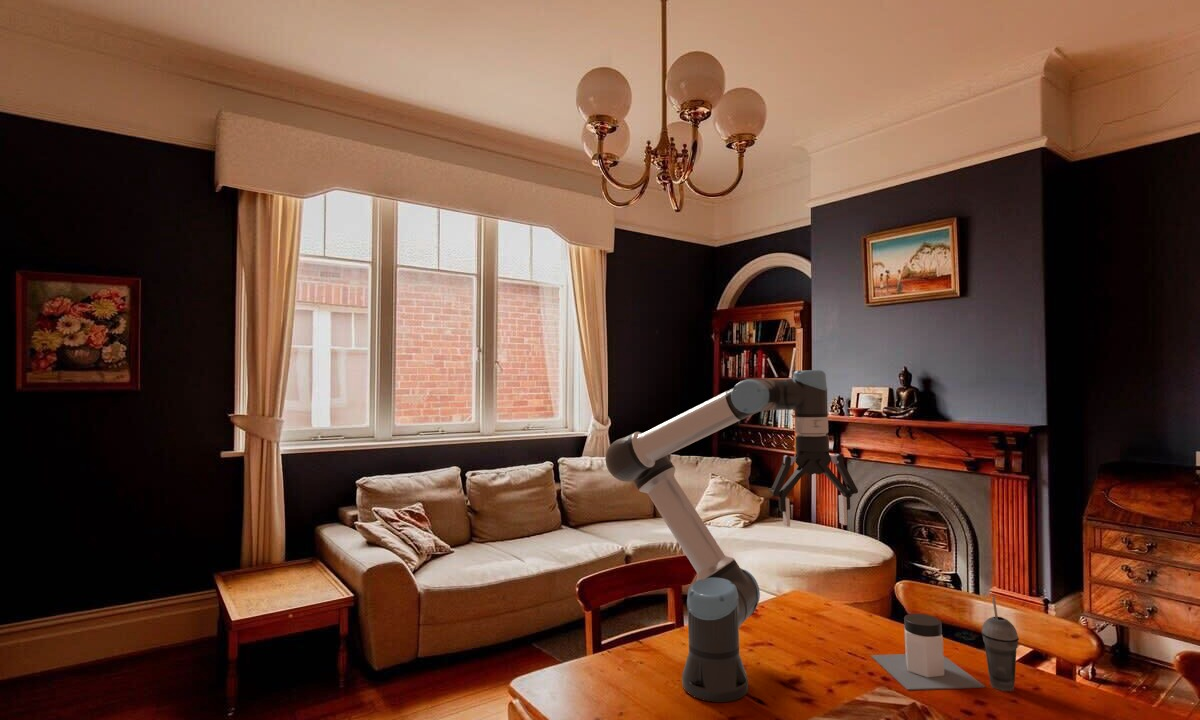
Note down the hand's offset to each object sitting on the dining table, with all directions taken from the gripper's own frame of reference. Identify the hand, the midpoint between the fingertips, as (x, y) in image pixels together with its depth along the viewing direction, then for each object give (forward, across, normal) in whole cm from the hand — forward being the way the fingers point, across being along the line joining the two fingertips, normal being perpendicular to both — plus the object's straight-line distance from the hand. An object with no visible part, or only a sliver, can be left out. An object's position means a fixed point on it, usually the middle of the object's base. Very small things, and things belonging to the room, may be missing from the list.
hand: (815, 524), depth 148 cm
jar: (+37, +27, +4) cm, 46 cm away
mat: (+37, +27, +4) cm, 46 cm away
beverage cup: (+37, +40, -5) cm, 55 cm away
